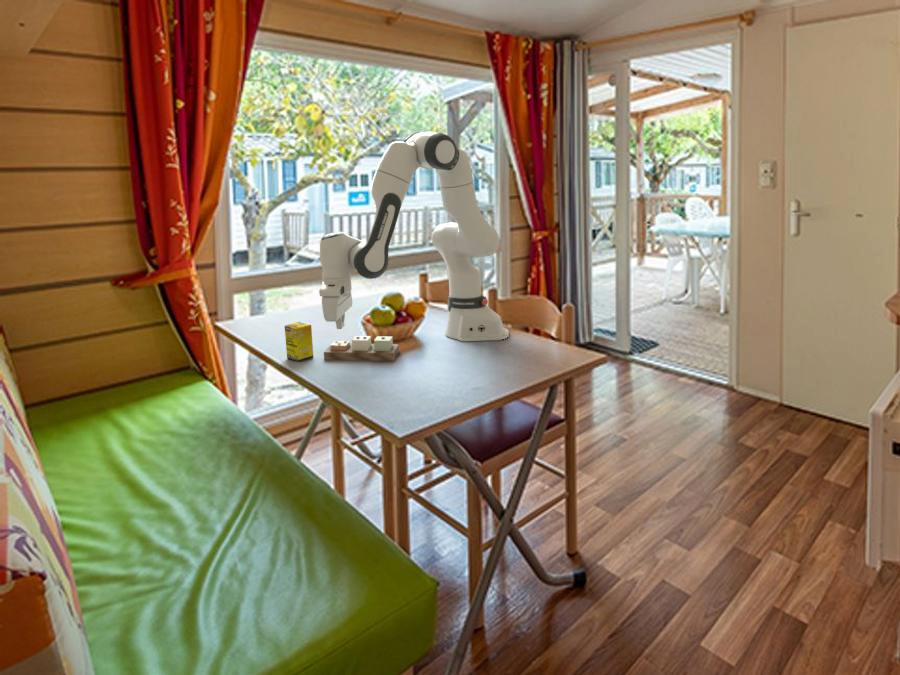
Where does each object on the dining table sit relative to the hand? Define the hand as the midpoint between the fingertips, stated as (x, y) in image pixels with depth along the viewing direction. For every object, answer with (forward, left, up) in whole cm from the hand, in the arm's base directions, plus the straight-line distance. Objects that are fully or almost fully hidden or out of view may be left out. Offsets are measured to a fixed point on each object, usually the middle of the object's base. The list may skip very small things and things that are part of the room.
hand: (340, 327), depth 199 cm
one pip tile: (-14, +1, -7) cm, 16 cm away
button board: (-7, +1, -9) cm, 11 cm away
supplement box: (+12, +5, -9) cm, 16 cm away
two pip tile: (-7, +1, -7) cm, 10 cm away
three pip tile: (0, +1, -9) cm, 9 cm away
